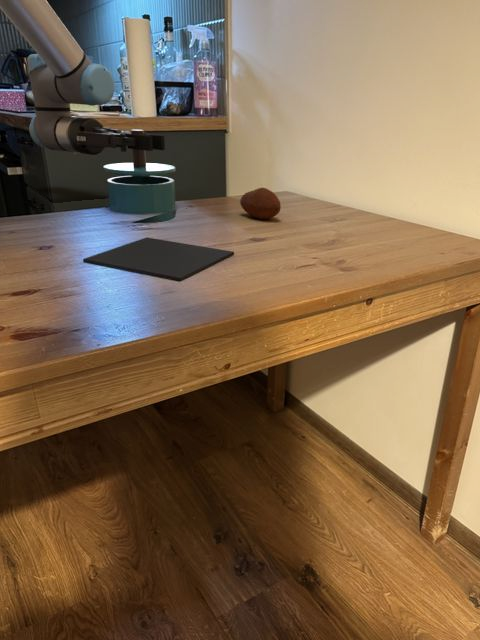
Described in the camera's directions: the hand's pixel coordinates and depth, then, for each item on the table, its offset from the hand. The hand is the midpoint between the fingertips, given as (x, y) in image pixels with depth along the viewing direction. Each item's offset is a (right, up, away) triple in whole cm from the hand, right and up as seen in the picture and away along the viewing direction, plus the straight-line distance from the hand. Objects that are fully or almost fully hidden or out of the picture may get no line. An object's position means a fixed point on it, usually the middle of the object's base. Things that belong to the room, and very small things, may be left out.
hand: (157, 143), depth 98 cm
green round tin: (-5, -12, +10) cm, 16 cm away
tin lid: (-5, -3, +5) cm, 8 cm away
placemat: (+5, -26, -18) cm, 32 cm away
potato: (+21, -12, +12) cm, 27 cm away
